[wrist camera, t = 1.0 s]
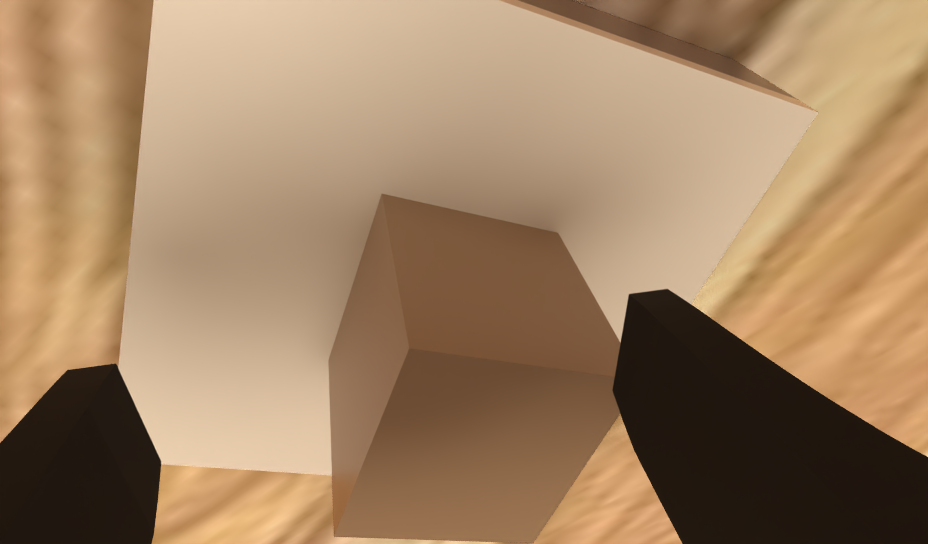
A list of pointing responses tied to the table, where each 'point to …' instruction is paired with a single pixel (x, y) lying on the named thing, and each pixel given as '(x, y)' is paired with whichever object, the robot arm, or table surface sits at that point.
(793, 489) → the robot arm
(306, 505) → the table surface
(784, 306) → the table surface
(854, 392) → the table surface
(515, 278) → the lid
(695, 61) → the storage box
